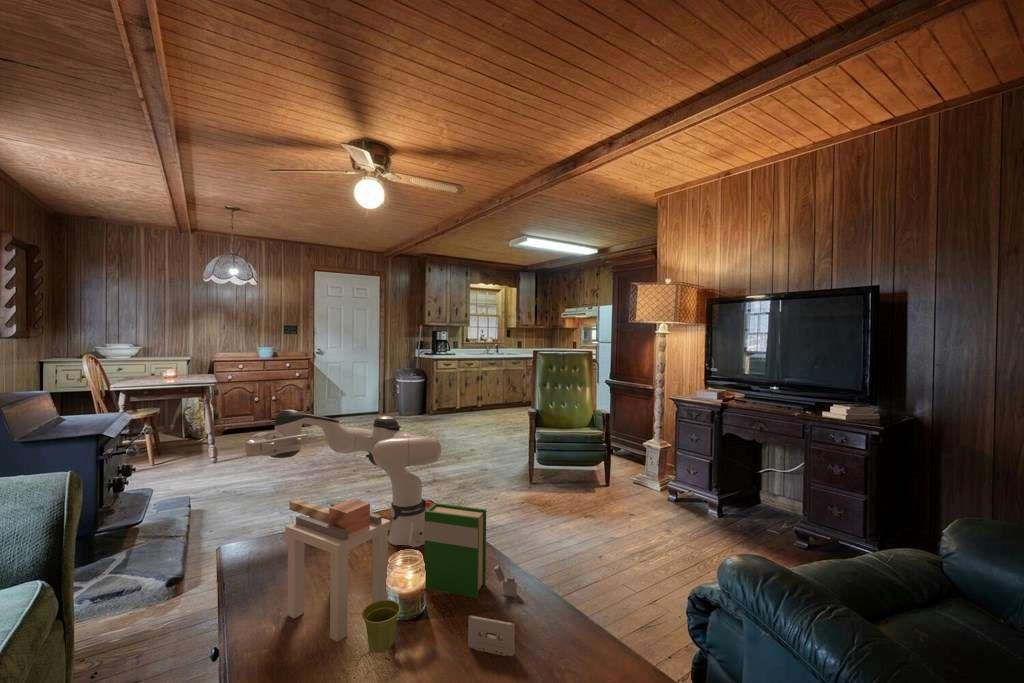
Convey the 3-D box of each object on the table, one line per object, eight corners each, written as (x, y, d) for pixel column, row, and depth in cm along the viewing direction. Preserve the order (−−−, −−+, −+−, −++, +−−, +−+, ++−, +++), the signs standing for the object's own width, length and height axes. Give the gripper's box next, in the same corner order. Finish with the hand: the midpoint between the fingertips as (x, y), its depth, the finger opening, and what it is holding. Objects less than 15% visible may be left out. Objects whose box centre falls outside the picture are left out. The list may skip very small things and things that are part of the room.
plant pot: (363, 662, 106) (363, 626, 106) (360, 637, 115) (360, 604, 115) (403, 651, 110) (403, 616, 110) (397, 628, 118) (397, 596, 118)
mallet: (280, 512, 132) (280, 492, 132) (305, 504, 139) (305, 485, 139) (346, 535, 118) (346, 513, 118) (369, 524, 125) (370, 503, 125)
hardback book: (485, 585, 140) (486, 509, 139) (477, 598, 133) (478, 518, 132) (434, 575, 145) (435, 502, 144) (424, 588, 138) (424, 511, 137)
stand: (284, 615, 123) (285, 519, 123) (338, 584, 139) (339, 499, 139) (337, 643, 112) (338, 537, 112) (389, 606, 128) (390, 513, 128)
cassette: (467, 648, 111) (467, 618, 111) (469, 643, 113) (470, 614, 113) (513, 658, 108) (513, 627, 108) (515, 653, 110) (515, 622, 110)
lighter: (517, 594, 135) (517, 568, 135) (515, 597, 133) (516, 571, 133) (495, 590, 137) (495, 564, 137) (493, 593, 135) (493, 567, 135)
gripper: (300, 447, 172) (316, 447, 162) (241, 457, 157) (254, 458, 147) (299, 430, 172) (314, 429, 163) (240, 439, 157) (253, 439, 148)
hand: (285, 443), depth 155 cm, fingers open, 8 cm apart
